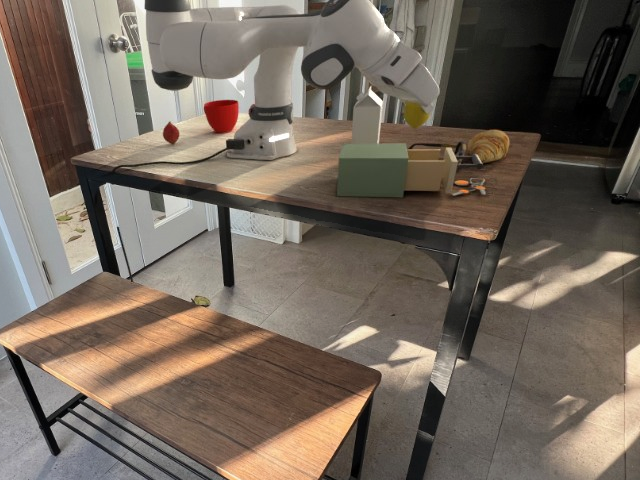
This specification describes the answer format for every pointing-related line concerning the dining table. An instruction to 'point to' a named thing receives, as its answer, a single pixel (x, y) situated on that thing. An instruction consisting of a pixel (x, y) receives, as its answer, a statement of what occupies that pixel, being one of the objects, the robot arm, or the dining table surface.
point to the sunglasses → (459, 147)
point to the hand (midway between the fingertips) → (420, 108)
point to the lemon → (415, 115)
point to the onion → (171, 133)
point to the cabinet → (372, 170)
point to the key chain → (474, 185)
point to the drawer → (434, 169)
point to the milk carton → (367, 118)
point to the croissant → (489, 145)
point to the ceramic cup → (222, 115)
